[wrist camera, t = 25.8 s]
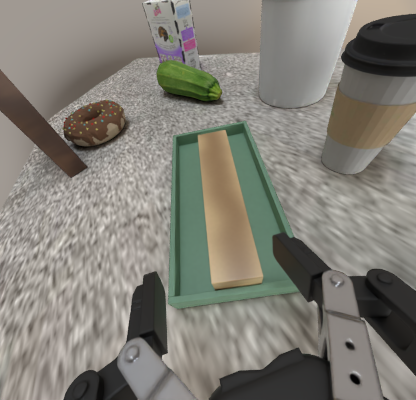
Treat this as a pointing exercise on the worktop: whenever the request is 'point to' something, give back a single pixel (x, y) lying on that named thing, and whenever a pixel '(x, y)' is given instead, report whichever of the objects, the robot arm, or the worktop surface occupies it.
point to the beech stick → (226, 217)
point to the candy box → (173, 30)
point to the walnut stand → (37, 128)
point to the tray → (196, 224)
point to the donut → (94, 123)
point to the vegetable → (187, 81)
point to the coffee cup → (372, 93)
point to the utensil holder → (300, 48)
